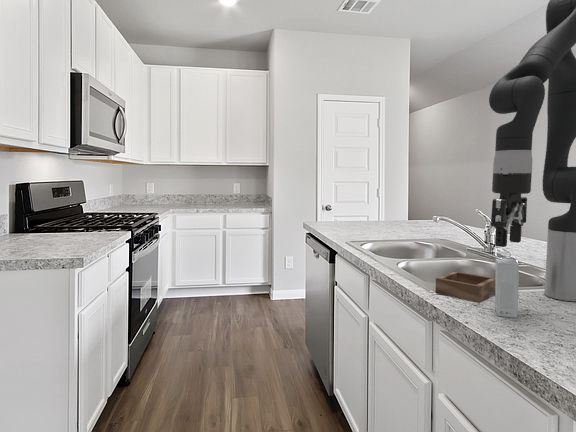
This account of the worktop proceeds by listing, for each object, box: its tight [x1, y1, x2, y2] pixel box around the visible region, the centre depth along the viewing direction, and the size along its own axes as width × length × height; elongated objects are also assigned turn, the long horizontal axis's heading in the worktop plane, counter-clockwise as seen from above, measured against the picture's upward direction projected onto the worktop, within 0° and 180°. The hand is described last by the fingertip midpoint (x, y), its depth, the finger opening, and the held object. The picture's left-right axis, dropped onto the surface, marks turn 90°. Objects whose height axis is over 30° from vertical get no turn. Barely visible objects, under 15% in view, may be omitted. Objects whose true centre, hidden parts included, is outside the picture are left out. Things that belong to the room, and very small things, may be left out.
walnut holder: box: [434, 270, 495, 303], centre depth 107 cm, size 11×11×4 cm
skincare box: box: [494, 258, 520, 319], centre depth 91 cm, size 6×4×12 cm
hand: (508, 244), depth 90 cm, fingers open, 8 cm apart
